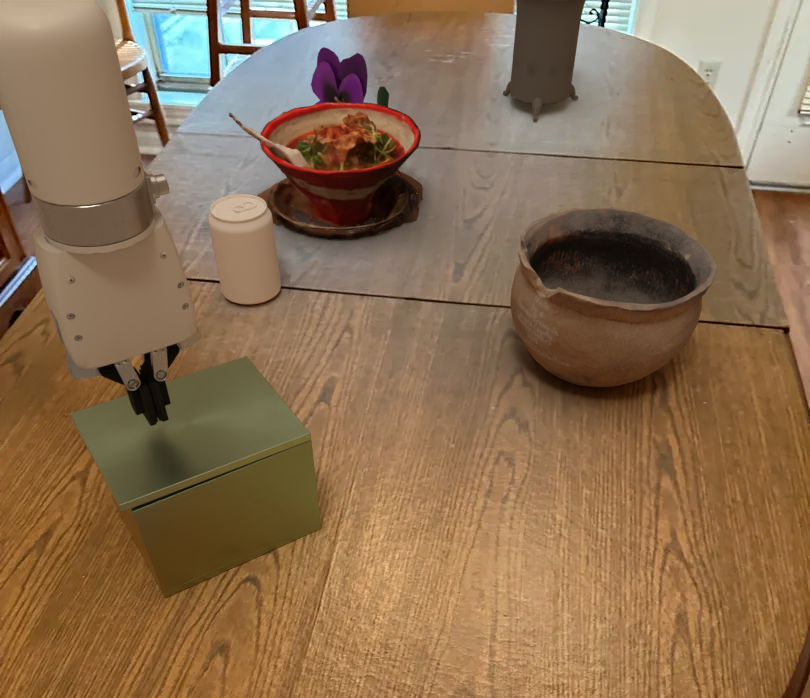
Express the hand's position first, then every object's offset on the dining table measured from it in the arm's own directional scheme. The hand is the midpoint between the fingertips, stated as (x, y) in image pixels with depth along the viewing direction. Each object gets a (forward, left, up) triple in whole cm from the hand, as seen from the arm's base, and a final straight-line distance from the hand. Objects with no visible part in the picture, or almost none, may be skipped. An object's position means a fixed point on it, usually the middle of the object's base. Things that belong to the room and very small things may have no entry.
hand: (153, 413), depth 68 cm
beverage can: (+24, +37, -15) cm, 46 cm away
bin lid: (+3, 0, -3) cm, 4 cm away
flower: (+62, +75, -15) cm, 98 cm away
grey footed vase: (+100, +69, -15) cm, 122 cm away
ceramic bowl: (+53, 0, -15) cm, 55 cm away
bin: (+3, 0, -15) cm, 15 cm away
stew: (+45, +51, -15) cm, 69 cm away
